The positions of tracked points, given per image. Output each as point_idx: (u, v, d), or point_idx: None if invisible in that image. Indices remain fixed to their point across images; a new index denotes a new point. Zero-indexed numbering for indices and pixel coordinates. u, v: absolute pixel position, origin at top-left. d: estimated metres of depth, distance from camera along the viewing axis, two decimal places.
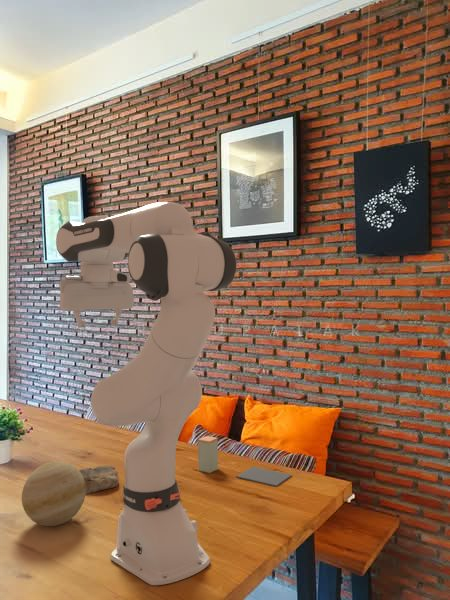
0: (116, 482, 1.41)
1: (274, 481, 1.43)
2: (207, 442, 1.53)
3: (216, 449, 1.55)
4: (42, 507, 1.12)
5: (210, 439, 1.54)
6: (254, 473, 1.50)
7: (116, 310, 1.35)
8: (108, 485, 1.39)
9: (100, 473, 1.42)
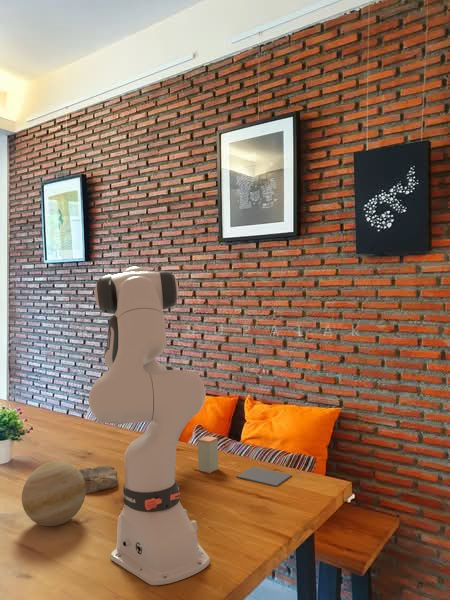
0: (116, 481, 1.41)
1: (274, 481, 1.43)
2: (207, 442, 1.53)
3: (216, 449, 1.55)
4: (42, 507, 1.12)
5: (210, 439, 1.54)
6: (254, 473, 1.50)
7: None
8: (108, 485, 1.39)
9: (100, 473, 1.42)
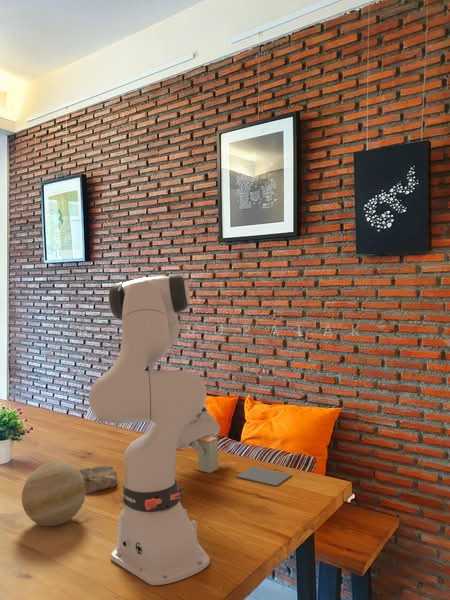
0: (115, 481, 1.41)
1: (274, 481, 1.43)
2: (207, 442, 1.53)
3: (216, 449, 1.55)
4: (42, 507, 1.12)
5: (210, 439, 1.54)
6: (254, 473, 1.50)
7: None
8: (107, 485, 1.39)
9: (99, 473, 1.42)
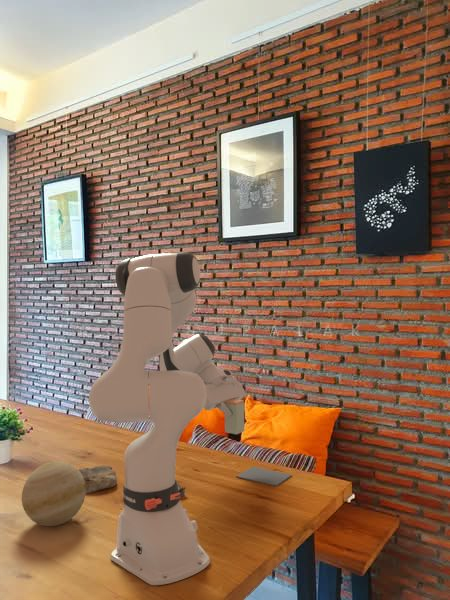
0: (115, 481, 1.42)
1: (274, 481, 1.43)
2: (234, 403, 1.51)
3: (242, 411, 1.54)
4: (42, 507, 1.12)
5: (236, 401, 1.53)
6: (254, 473, 1.50)
7: None
8: (107, 485, 1.39)
9: (98, 473, 1.42)
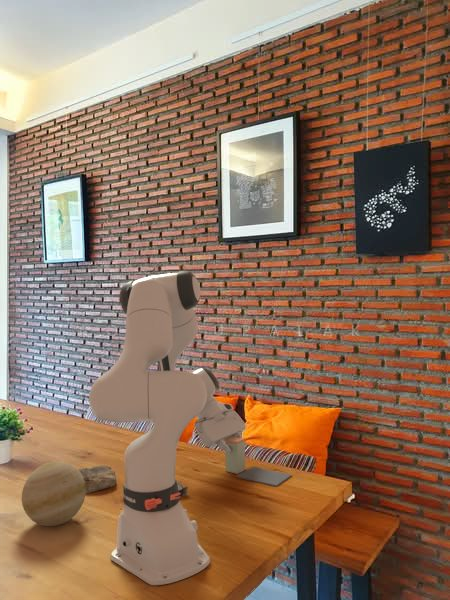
0: (114, 481, 1.42)
1: (274, 481, 1.43)
2: (235, 442, 1.51)
3: (243, 450, 1.54)
4: (42, 507, 1.12)
5: (237, 440, 1.53)
6: (254, 473, 1.50)
7: (236, 434, 1.58)
8: (106, 484, 1.39)
9: (98, 473, 1.42)
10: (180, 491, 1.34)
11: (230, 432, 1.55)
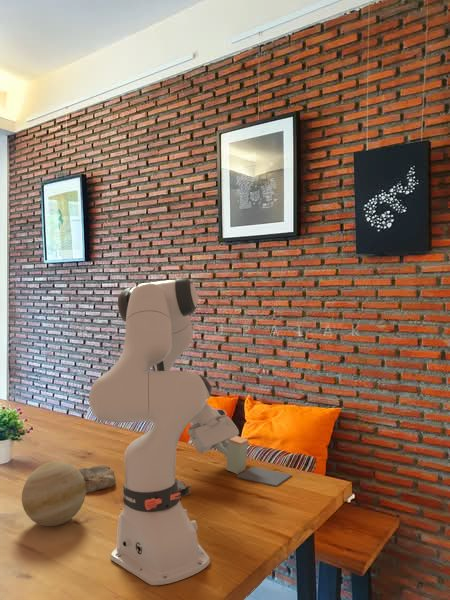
0: (114, 481, 1.42)
1: (274, 481, 1.43)
2: (238, 443, 1.50)
3: (246, 451, 1.53)
4: (42, 507, 1.12)
5: (241, 440, 1.52)
6: (254, 473, 1.50)
7: (224, 442, 1.58)
8: (106, 484, 1.40)
9: (97, 473, 1.42)
10: (183, 490, 1.35)
11: (223, 438, 1.57)
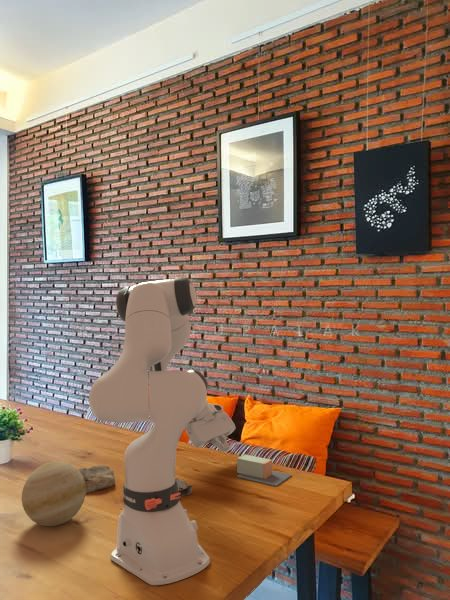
0: (113, 481, 1.42)
1: (274, 481, 1.43)
2: (263, 476, 1.45)
3: None
4: (42, 507, 1.12)
5: (268, 473, 1.47)
6: None
7: (221, 437, 1.59)
8: (105, 484, 1.40)
9: (96, 473, 1.42)
10: (185, 490, 1.35)
11: (219, 433, 1.58)
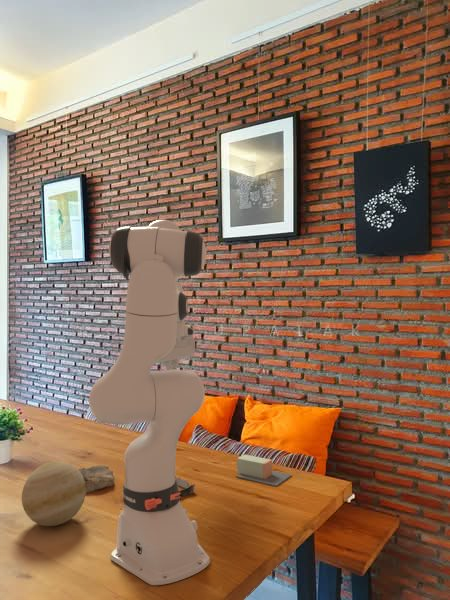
0: (112, 481, 1.42)
1: (274, 481, 1.43)
2: (263, 476, 1.45)
3: None
4: (42, 507, 1.12)
5: (268, 473, 1.47)
6: None
7: (175, 360, 1.56)
8: (105, 484, 1.40)
9: (96, 473, 1.42)
10: (187, 489, 1.35)
11: (176, 357, 1.55)
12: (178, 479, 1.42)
